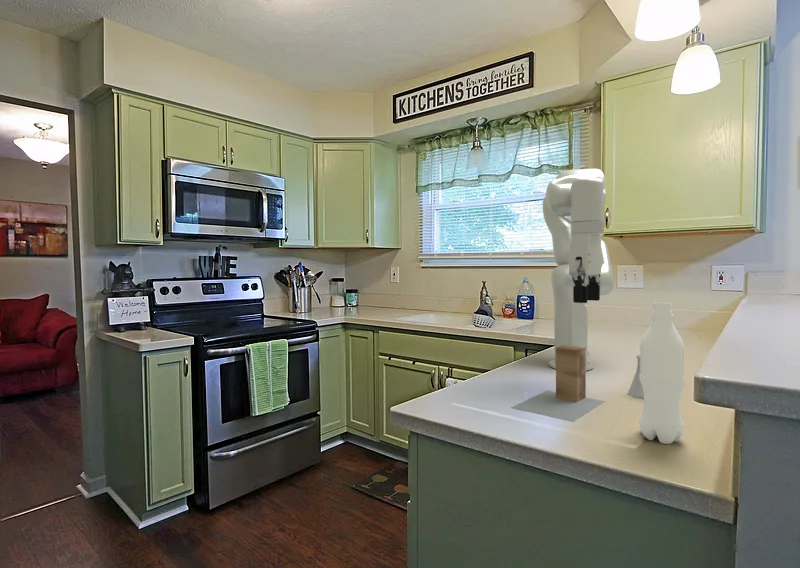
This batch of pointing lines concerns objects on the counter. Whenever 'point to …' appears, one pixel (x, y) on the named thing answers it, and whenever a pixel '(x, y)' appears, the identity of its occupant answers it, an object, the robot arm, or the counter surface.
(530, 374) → the counter surface
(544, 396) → the mat
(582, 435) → the counter surface
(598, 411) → the counter surface
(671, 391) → the water bottle
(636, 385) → the flask
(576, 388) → the cardboard box
